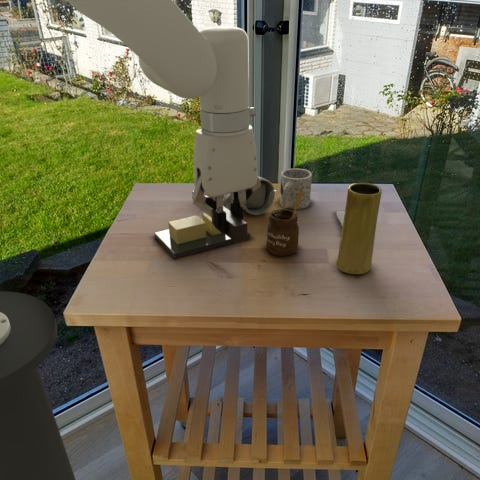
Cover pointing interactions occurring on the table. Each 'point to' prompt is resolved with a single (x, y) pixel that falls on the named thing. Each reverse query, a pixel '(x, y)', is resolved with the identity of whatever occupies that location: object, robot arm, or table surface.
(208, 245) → the board
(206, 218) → the butter pat
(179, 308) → the table surface
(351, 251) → the vase
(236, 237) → the table knife
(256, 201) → the ceramic mug
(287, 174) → the mug
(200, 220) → the butter block
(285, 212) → the utensil holder
